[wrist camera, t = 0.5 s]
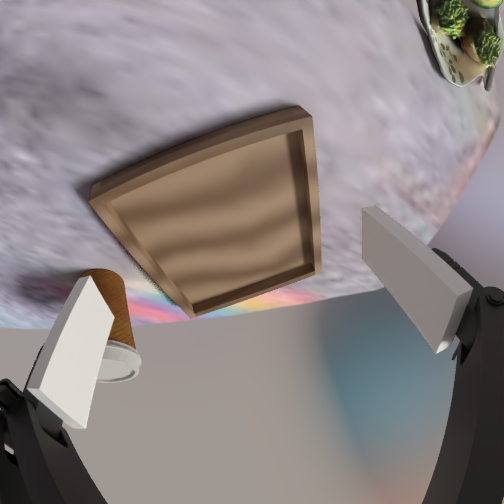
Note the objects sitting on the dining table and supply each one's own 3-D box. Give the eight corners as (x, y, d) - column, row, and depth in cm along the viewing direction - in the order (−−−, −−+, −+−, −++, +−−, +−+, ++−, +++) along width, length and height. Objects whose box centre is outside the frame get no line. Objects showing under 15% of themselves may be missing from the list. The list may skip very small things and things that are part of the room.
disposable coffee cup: (128, 306, 38) (134, 385, 30) (66, 297, 32) (62, 379, 25) (144, 267, 33) (152, 360, 25) (70, 253, 27) (59, 351, 20)
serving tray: (92, 184, 22) (88, 201, 21) (299, 105, 22) (312, 116, 21) (188, 304, 41) (190, 318, 40) (314, 258, 41) (321, 272, 40)
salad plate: (504, 69, 20) (526, 83, 17) (439, 111, 26) (464, 130, 23) (477, -45, 6) (507, -38, 3) (392, -32, 12) (427, -29, 9)
